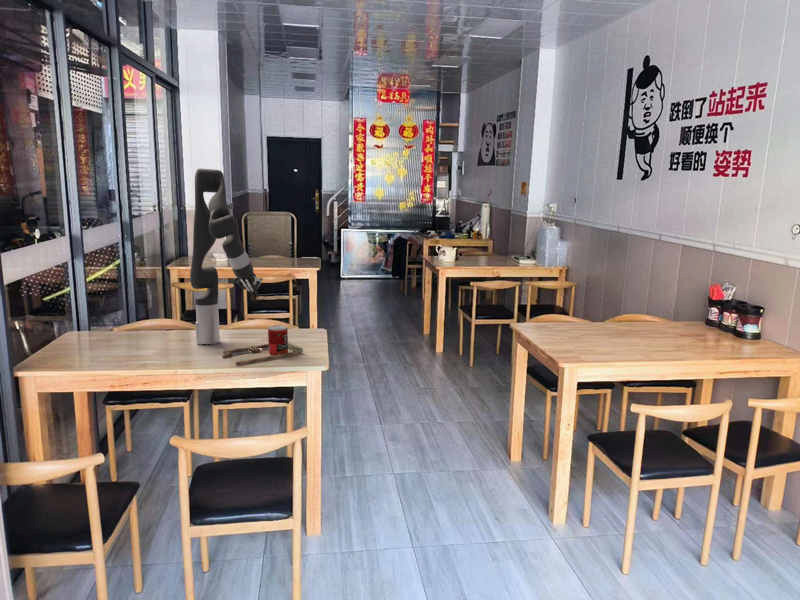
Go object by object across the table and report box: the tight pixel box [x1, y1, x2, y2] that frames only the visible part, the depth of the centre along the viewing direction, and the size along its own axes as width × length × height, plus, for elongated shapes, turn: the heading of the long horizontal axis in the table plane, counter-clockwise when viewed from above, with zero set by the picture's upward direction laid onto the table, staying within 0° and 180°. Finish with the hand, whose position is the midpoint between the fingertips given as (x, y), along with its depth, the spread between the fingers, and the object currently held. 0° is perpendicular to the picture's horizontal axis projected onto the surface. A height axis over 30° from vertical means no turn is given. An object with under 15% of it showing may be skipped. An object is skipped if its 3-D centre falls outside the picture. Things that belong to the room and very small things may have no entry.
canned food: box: [267, 324, 289, 356], centre depth 245 cm, size 8×8×11 cm
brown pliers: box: [221, 341, 304, 367], centre depth 244 cm, size 28×20×2 cm
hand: (255, 296), depth 243 cm, fingers closed
